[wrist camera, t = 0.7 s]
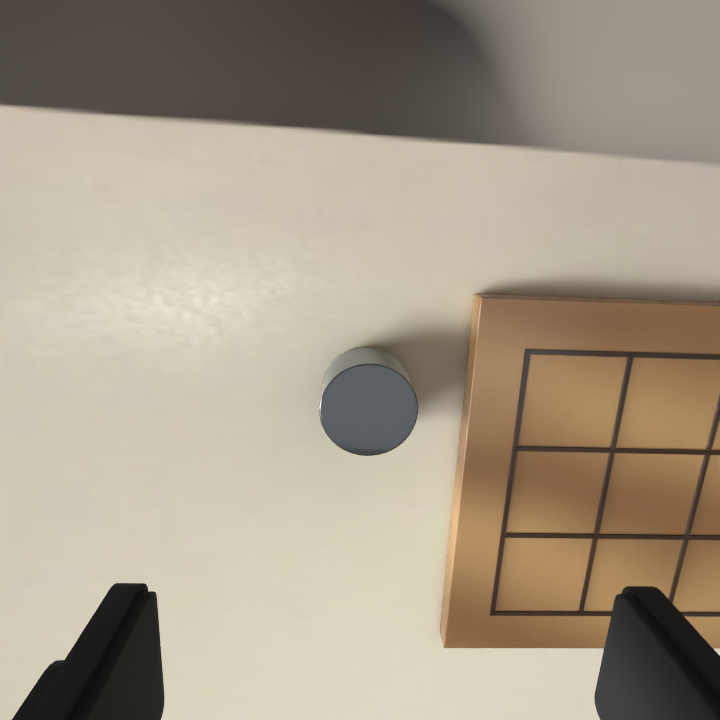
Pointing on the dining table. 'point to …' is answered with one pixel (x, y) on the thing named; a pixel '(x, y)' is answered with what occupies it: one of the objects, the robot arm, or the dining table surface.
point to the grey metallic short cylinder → (367, 402)
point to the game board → (584, 469)
